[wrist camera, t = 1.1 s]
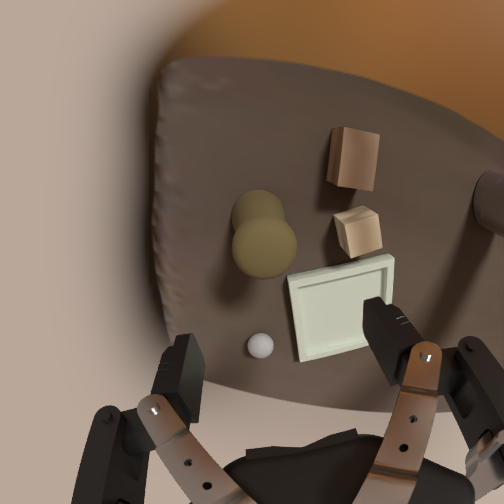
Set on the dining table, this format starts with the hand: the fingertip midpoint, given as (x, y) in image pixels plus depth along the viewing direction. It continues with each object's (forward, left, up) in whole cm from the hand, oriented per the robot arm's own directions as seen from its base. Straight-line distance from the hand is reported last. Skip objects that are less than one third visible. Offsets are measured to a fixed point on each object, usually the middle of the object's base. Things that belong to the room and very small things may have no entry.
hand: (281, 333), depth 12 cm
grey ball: (+3, +17, -18) cm, 25 cm away
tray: (-9, +15, -20) cm, 27 cm away
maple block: (-11, +3, -20) cm, 23 cm away
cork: (0, 0, -20) cm, 20 cm away
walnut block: (-11, -5, -20) cm, 23 cm away
